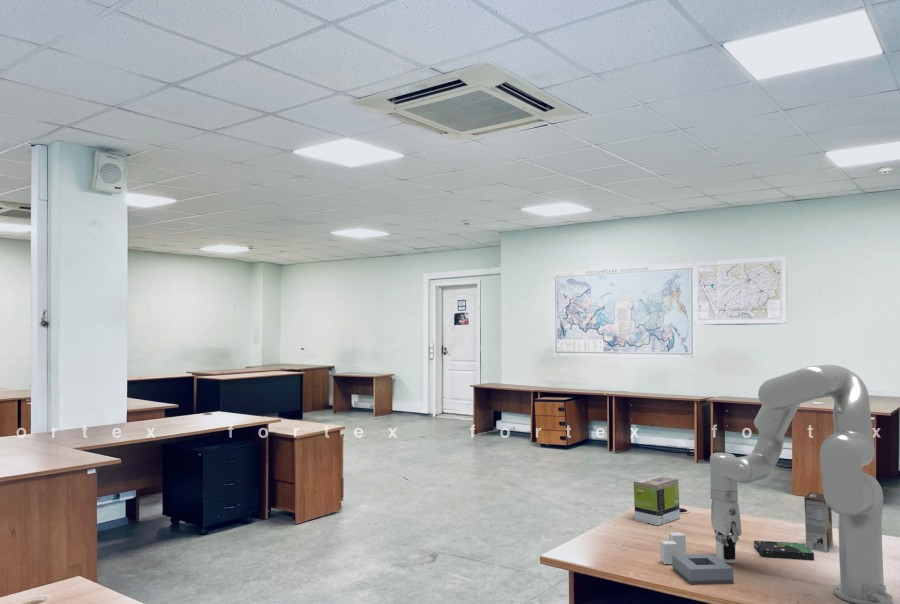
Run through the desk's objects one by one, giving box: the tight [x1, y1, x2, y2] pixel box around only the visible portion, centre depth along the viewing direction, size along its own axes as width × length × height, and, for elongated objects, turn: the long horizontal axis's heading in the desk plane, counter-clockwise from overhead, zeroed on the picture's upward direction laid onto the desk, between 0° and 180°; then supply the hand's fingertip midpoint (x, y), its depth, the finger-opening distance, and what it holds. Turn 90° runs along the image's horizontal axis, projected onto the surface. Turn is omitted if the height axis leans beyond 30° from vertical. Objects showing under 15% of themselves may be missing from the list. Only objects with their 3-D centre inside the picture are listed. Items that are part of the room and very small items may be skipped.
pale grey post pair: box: [659, 532, 687, 565], centre depth 198 cm, size 11×10×6 cm
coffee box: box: [804, 491, 834, 553], centre depth 209 cm, size 9×6×16 cm
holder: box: [672, 553, 734, 585], centre depth 183 cm, size 12×12×4 cm
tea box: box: [633, 475, 681, 526], centre depth 241 cm, size 15×10×15 cm
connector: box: [715, 534, 737, 564], centre depth 196 cm, size 4×4×7 cm
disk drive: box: [753, 540, 815, 561], centre depth 202 cm, size 10×3×15 cm
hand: (725, 555), depth 196 cm, fingers closed on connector, 4 cm apart
